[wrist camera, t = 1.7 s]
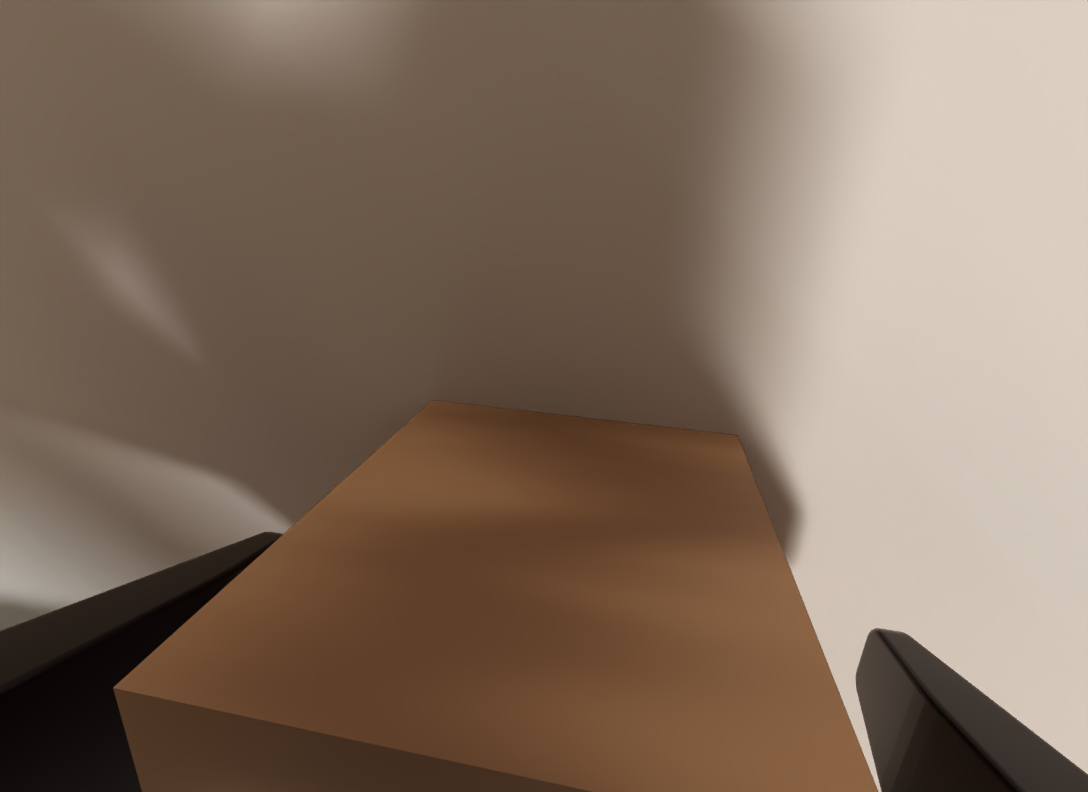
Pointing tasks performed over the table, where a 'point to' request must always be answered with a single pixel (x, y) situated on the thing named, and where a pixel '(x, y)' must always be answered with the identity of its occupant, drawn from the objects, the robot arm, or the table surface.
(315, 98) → the table surface
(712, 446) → the walnut block
